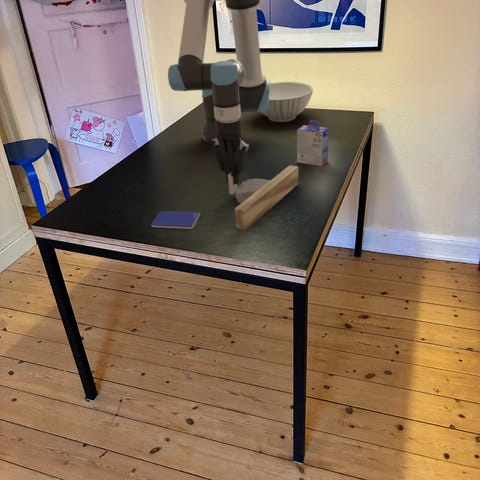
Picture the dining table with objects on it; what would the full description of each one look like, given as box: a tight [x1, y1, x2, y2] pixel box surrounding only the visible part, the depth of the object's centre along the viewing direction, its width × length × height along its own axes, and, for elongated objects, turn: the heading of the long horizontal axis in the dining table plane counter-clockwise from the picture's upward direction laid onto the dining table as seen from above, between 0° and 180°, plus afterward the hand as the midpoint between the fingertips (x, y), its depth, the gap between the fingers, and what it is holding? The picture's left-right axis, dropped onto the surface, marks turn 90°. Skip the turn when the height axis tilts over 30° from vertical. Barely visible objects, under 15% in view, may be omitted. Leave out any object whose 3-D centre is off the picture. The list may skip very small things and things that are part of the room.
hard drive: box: [151, 210, 201, 230], centre depth 140 cm, size 2×8×12 cm
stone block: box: [235, 178, 271, 204], centre depth 149 cm, size 12×5×10 cm
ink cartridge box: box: [296, 119, 330, 167], centre depth 165 cm, size 10×6×14 cm, turn 58°
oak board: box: [234, 164, 299, 231], centre depth 142 cm, size 3×32×6 cm, turn 147°
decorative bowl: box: [260, 81, 314, 123], centre depth 209 cm, size 27×27×12 cm
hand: (233, 192), depth 150 cm, fingers closed
